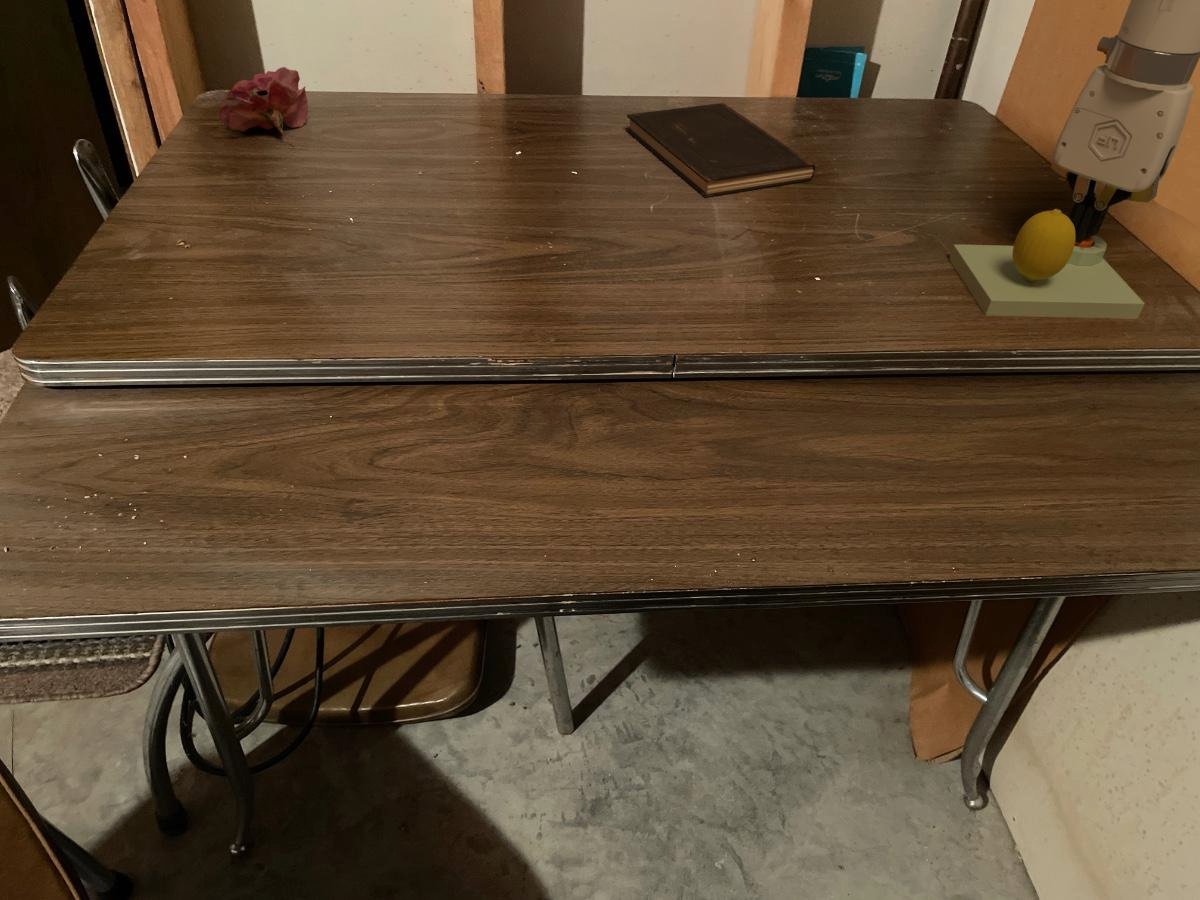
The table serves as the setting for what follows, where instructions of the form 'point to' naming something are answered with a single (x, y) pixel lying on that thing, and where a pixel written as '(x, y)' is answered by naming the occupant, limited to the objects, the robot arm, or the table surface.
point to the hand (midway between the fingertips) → (1078, 236)
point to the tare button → (1085, 243)
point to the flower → (266, 102)
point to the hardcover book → (718, 149)
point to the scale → (1046, 284)
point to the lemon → (1044, 245)
